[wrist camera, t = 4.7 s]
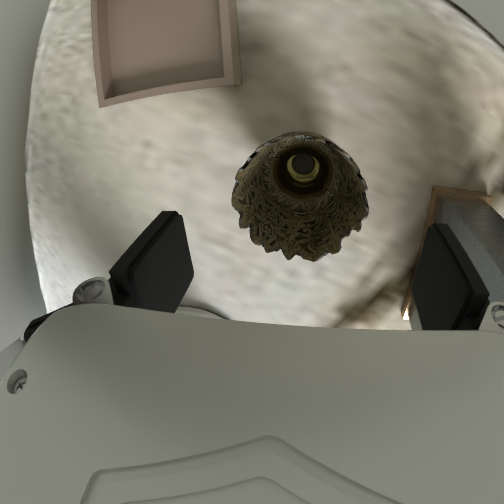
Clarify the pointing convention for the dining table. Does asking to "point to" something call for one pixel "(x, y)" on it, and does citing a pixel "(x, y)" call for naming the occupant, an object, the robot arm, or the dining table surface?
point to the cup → (300, 196)
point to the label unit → (467, 239)
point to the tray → (163, 47)
